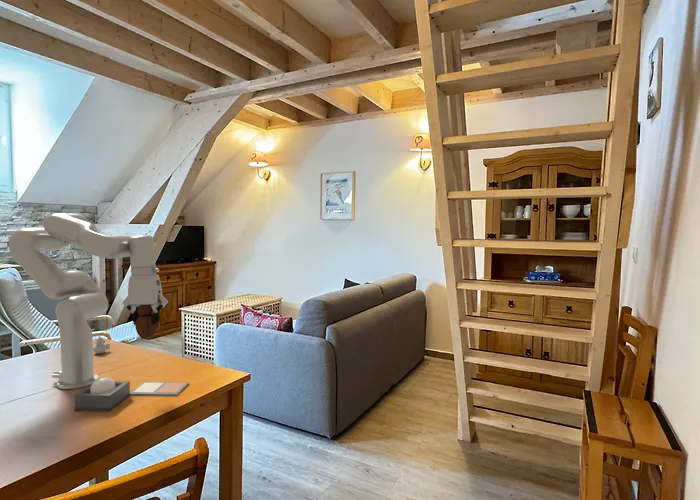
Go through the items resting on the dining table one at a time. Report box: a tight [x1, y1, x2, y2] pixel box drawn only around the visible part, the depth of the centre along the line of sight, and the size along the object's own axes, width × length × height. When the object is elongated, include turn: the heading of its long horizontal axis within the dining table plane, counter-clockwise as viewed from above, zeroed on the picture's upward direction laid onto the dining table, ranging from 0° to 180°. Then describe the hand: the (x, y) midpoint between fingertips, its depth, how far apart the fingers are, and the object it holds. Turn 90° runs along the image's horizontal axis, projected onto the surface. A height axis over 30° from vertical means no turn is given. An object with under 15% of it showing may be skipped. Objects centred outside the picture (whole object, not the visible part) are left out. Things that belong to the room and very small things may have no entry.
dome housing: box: [73, 380, 131, 412], centre depth 130 cm, size 11×11×5 cm
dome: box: [90, 376, 116, 393], centre depth 130 cm, size 7×7×7 cm
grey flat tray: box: [130, 381, 190, 397], centre depth 141 cm, size 16×10×1 cm, turn 89°
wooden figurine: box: [134, 305, 158, 339], centre depth 140 cm, size 7×6×15 cm
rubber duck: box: [93, 335, 111, 355], centre depth 179 cm, size 5×7×8 cm
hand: (146, 323), depth 140 cm, fingers closed on wooden figurine, 5 cm apart
